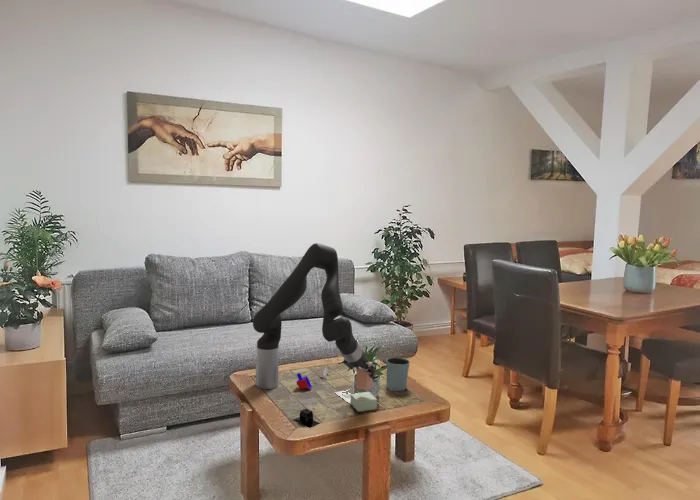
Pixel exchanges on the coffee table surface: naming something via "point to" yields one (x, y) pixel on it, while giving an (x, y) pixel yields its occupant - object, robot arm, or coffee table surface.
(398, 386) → the blue-grey cup
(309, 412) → the black piece
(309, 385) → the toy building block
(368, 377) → the terracotta brick
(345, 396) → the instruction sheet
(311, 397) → the coffee table surface
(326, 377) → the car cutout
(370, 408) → the base brick
